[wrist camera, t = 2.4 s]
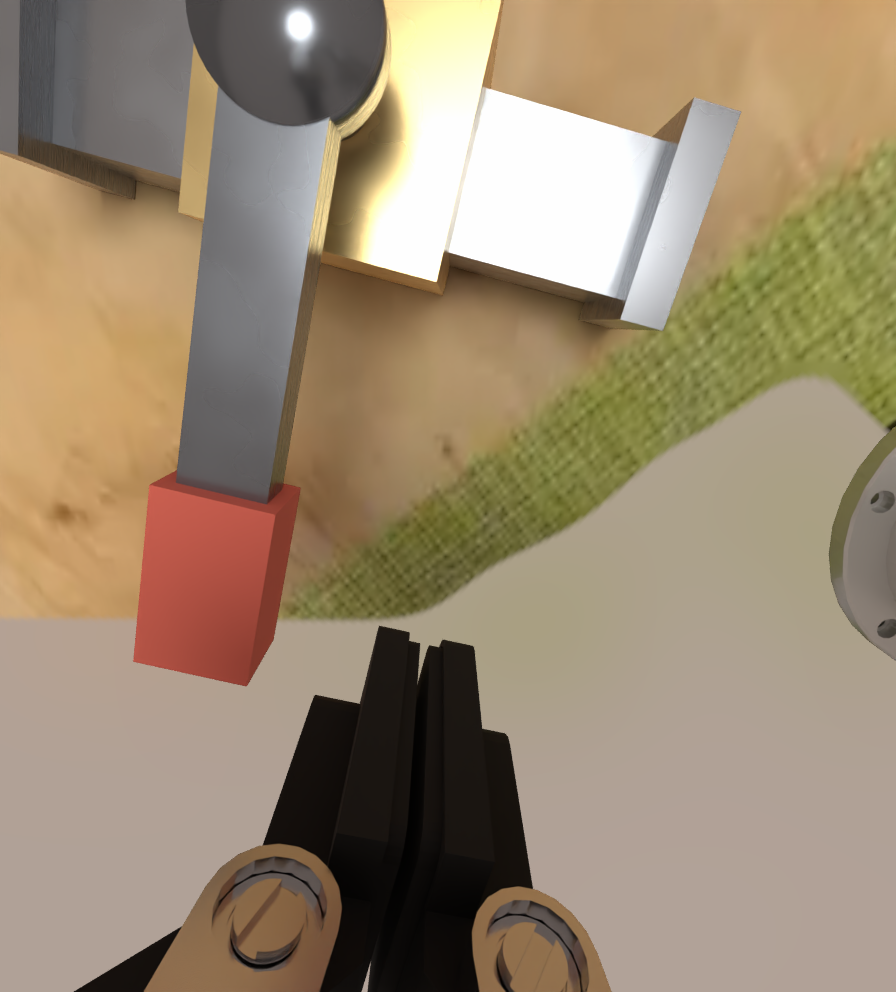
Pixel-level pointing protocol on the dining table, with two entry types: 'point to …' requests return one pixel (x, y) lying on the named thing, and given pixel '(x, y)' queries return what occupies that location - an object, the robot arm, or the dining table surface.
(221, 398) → the valve lever
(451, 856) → the robot arm
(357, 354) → the dining table surface
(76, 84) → the valve pipe
